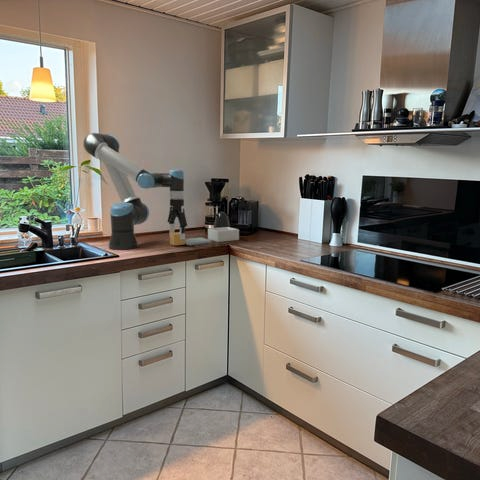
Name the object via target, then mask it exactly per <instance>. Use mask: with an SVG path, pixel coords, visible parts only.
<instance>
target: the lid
mask: <svg viewBox="0 0 480 480" xmlns="http://www.w3.org/2000/svg"><path fill="white" fill-rule="evenodd" d="M212 241H213V240H210V239H208V238H205V237H195V238H193V237H191V238H185V239H180V231H179V232H177V231H176V232H175V233H170V232H169V244H170V245H172V246H182V245H183V246H184V245H185V244H186V246H188V245H189V247H193V245H201V244H212Z"/></svg>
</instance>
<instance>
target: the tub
mask: <svg viewBox="0 0 480 480" xmlns="http://www.w3.org/2000/svg"><path fill="white" fill-rule="evenodd" d="M207 239H208V240H211V241H213V242H218V243H220V242H230V241H239V240H240V228H239V229H238V228H234V227H223V228H214V227H212V228H207Z"/></svg>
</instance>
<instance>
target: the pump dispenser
mask: <svg viewBox="0 0 480 480" xmlns="http://www.w3.org/2000/svg"><path fill="white" fill-rule="evenodd" d="M214 216H215V220H214V222H213V228H223V227H230V221H229V219H228V216H227V214H226V213H225V212H224V211H220V212H218V213H214ZM230 228H231V227H230Z"/></svg>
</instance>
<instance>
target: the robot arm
mask: <svg viewBox="0 0 480 480" xmlns="http://www.w3.org/2000/svg"><path fill="white" fill-rule="evenodd" d="M82 145H83V148H84V150H85V151H86V152H87V153H88V154H89V155H91V157H93V158H95V159H97V160H99V162H101V163H102V164H104V166H105V168H106V171H107V173H108V175H109V178H110V180H111V181H112V184H113V186H114V188H115V190H116V193H117V195H118V198H119V199H120V201H121V202H120V203H119V202H117V203H114V204H112V205H111V207H110V212H109V213H110V224H111V235H110V238H109V242H108V248H109V249H111V250H129V249H130V250H131V249H135V248H138V246H139V243H138V240H137V237H136V234H135V227H134V226H137V225H141V224H143V223H145V222H146V221H148V218H149V216H150V210H149V207H148V206H147V204H145V203H143V202H142V200H141V198H140V197H139V196H137V195H136V193H135V191H134V189H133V186H132V184H131V182H130V179H131V180H133V181H134V182H136V183H137V184H138V186H139V187H140V188H142V189H155V188H169V199H170V200H169V212H168V213H169V214H168V217H167V223H168V224H169V234H170V233H176V232H175V227H176V226H175V225H176V223H175V221H176V219H177V220H178V224H179V232H180V239H186V227H188V222H187V219H186V214H185V211H186V210H185V208H183V207H184V205H185V200H184V198H185V197H184V196H185V190H184V187H185V186H184V185H185V177H184V174H185V173H184V170H182V169H170V170H169V172H168V173H167V172H166V173H163V172H162V173H161V172H151V173H150V172H149V171H148V170H145V169H144V168H143V167H141V166H139V165H138V164H136V163H135V162H133V161H132V160H130V159H129V158H126V157H125V156H123V155H122V154H121V153H120V142H119V140H118V139H117V138H116V136H113V135H110V134H108V133H97V132H92V133H91V132H90V133H88V134H87V135H86V136H85V137H84V139H83V144H82ZM129 178H130V179H129Z"/></svg>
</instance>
